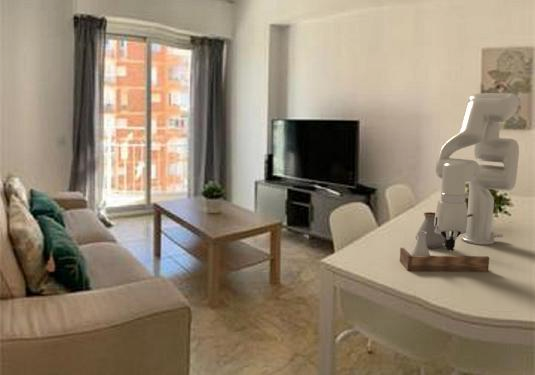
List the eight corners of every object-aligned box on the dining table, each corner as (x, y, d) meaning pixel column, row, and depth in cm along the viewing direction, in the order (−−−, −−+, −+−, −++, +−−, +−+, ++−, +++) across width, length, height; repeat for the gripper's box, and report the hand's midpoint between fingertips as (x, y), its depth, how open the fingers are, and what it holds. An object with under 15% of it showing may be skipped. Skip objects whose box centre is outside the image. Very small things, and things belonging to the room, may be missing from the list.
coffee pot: (410, 246, 186) (413, 209, 184) (420, 239, 195) (422, 204, 193) (467, 256, 174) (470, 217, 171) (475, 249, 183) (478, 211, 180)
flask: (422, 256, 167) (424, 228, 166) (435, 262, 161) (437, 234, 159) (405, 257, 165) (406, 230, 163) (417, 264, 158) (419, 235, 157)
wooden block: (475, 261, 168) (476, 248, 167) (488, 271, 158) (489, 257, 157) (399, 261, 168) (400, 247, 167) (407, 270, 158) (408, 256, 157)
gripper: (470, 195, 164) (466, 245, 168) (427, 196, 164) (424, 246, 168) (479, 200, 157) (475, 252, 161) (434, 201, 157) (431, 253, 161)
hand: (449, 249), depth 164 cm, fingers closed
